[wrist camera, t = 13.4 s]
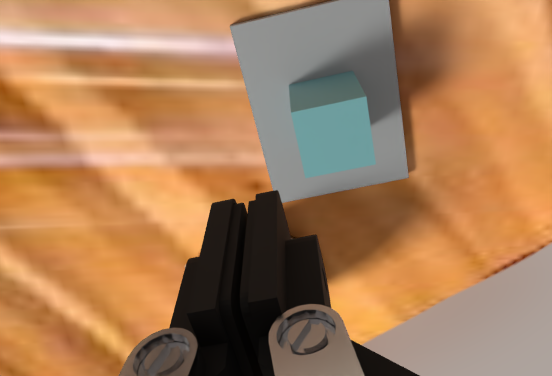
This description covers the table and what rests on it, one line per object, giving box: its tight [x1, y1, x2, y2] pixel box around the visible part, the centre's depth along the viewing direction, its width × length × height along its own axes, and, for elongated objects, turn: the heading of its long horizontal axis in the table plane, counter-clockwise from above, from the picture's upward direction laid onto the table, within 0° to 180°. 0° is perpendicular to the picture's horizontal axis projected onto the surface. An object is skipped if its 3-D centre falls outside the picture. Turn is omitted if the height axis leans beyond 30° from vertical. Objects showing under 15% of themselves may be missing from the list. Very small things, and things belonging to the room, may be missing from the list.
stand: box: [230, 0, 409, 203], centre depth 38 cm, size 16×12×6 cm
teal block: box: [289, 71, 376, 178], centre depth 37 cm, size 5×5×7 cm
